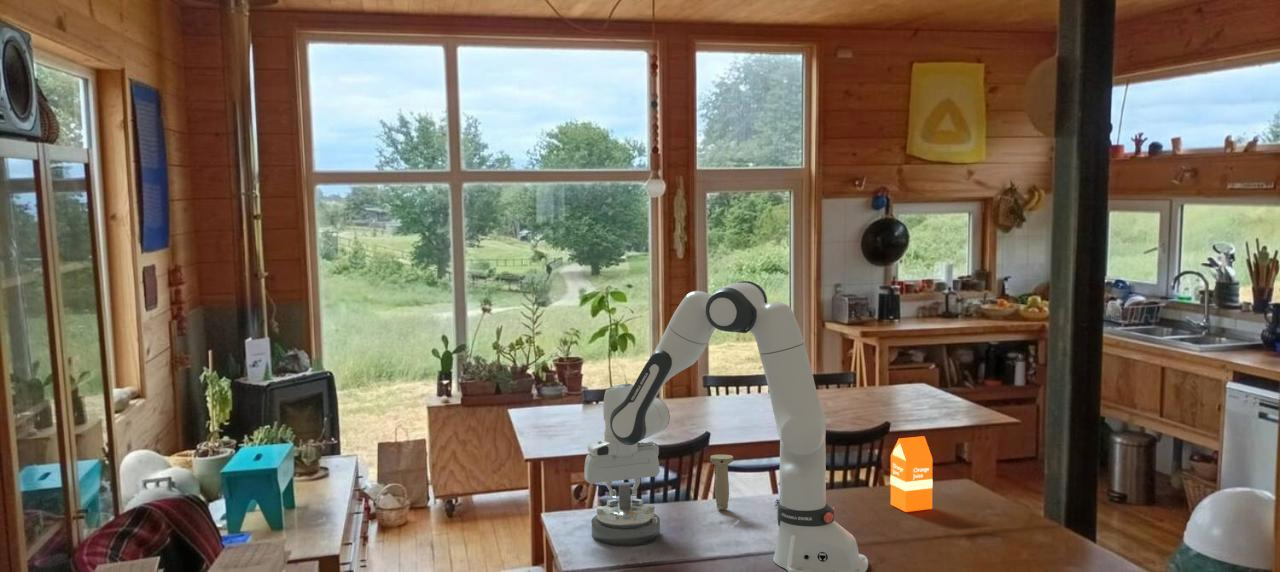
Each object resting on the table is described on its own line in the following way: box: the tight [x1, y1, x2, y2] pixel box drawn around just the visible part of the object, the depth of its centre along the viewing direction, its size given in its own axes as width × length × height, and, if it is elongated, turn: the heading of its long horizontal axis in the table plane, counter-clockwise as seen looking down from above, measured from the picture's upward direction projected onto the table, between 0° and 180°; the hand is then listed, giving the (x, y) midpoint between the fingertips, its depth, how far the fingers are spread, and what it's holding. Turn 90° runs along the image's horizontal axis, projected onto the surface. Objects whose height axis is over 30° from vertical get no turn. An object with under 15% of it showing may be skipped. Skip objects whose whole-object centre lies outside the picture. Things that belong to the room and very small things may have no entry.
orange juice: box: [890, 435, 933, 513], centre depth 259 cm, size 8×9×20 cm
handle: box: [709, 454, 734, 510], centre depth 260 cm, size 5×6×15 cm
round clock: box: [596, 481, 655, 528], centre depth 239 cm, size 15×15×8 cm
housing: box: [591, 513, 661, 548], centre depth 240 cm, size 18×18×6 cm
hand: (623, 495), depth 243 cm, fingers open, 4 cm apart
